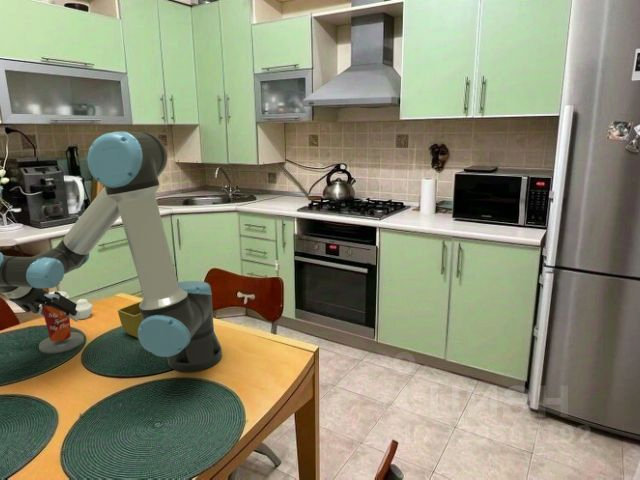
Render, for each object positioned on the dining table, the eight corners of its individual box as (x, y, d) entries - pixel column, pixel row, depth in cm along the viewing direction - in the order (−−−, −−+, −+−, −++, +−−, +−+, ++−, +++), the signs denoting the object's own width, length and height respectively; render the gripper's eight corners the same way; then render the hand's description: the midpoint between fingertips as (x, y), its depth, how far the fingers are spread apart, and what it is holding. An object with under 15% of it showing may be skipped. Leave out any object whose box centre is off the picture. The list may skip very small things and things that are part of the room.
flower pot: (160, 331, 146) (157, 306, 143) (137, 342, 139) (133, 315, 136) (143, 325, 150) (140, 301, 148) (120, 335, 143) (116, 310, 141)
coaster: (85, 346, 136) (85, 343, 136) (39, 357, 130) (39, 353, 129) (81, 332, 146) (81, 328, 146) (39, 341, 140) (38, 338, 139)
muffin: (74, 322, 153) (71, 303, 152) (74, 316, 159) (71, 297, 157) (94, 318, 156) (91, 300, 155) (93, 312, 162) (91, 294, 160)
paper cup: (54, 345, 132) (47, 301, 128) (41, 339, 136) (33, 296, 132) (80, 335, 138) (73, 293, 135) (66, 329, 142) (60, 288, 139)
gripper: (-22, 299, 118) (29, 328, 138) (52, 299, 117) (93, 329, 137) (-11, 274, 122) (37, 306, 142) (61, 274, 121) (100, 306, 141)
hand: (65, 317), depth 139 cm, fingers closed on paper cup, 8 cm apart
